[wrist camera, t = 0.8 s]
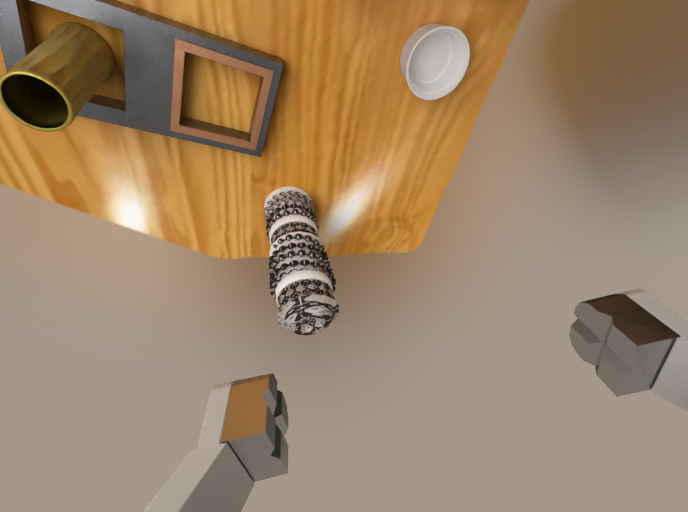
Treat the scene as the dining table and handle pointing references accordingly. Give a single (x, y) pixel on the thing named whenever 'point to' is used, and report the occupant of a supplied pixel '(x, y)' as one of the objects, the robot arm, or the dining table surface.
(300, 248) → the decorative candle
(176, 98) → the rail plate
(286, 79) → the dining table surface
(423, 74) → the ramekin
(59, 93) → the vase
